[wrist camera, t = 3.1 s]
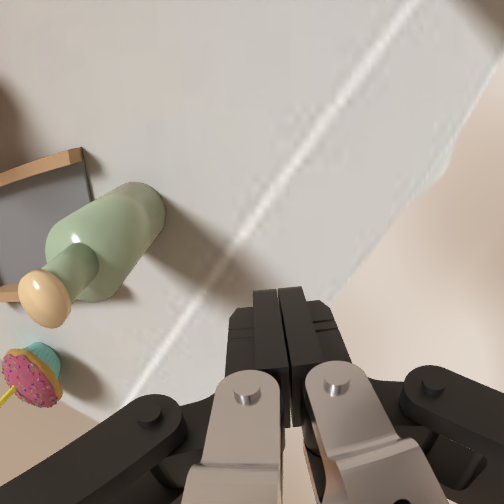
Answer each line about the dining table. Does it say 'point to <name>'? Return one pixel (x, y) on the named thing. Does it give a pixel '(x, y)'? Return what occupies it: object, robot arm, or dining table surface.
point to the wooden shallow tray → (36, 212)
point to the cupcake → (33, 375)
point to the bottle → (92, 252)
